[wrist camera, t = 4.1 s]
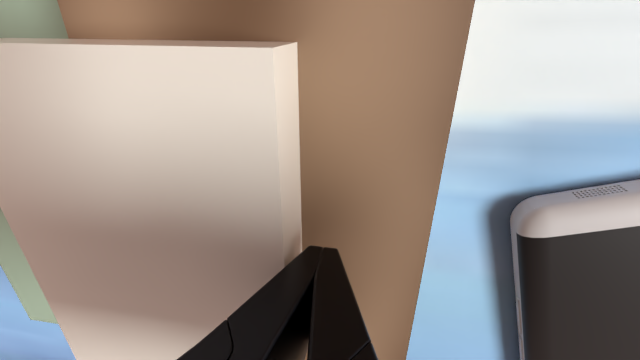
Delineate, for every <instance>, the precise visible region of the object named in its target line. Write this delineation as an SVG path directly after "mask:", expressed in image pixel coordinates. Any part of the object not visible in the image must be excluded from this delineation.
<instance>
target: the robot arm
mask: <svg viewBox="0 0 640 360" xmlns="http://www.w3.org/2000/svg"><path fill="white" fill-rule="evenodd" d="M307 350H308V353H307ZM306 354H307V360H378V358H377V355H376V352H375V349H374V347H373V344H372V343H371V339H370V336H369V333H368V331H367V328H366V325H365V322H364V320H363V317H362V314H361V311H360V309H359V306H358V303H357V300H356V298H355V295H354V292H353V289H352V287H351V284H350V281H349V278H348V276H347V273H346V270H345V267H344V265H343V262H342V259H341V256H340V254H339V251H338V249H337V248H330V247H324V248H323V247H321V246H313V245H310V246H308V247H307V248H306V249H305V250H303V251H302V252H301V253H300V254H299V255H298V256H297V257H295V258H294V259H293V260H292V261H291V262H290V263H289V264H288V265H286V266H285V267H284V268H283V269H282V270H281V271H280V272H279V273H277V274H276V275H275V276H274V277H273V278H272V279H271V280H270V281H268V282H267V283H266V284H265V285H264V286H263V287H262V288H260V289H259V290H258V291H257V292H256V293H255V294H254V295H253V296H251V297H250V298H249V299H248V300H247V301H246V302H245V303H244V304H242V305H241V306H240V307H239V308H238V309H237V310H236V311H234V312H233V313H232V314H231V315H230V316H229V317H228V318H227V320H224V321H223V322H222V323H221V324H220V325H218V326H217V327H216V328H215V329H214V330H213V331H212V332H210V333H209V334H208V335H207V336H206V337H204V338H203V339H202V340H201V341H200V342H198V343H197V344H196V345H195V346H194V347H192V348H191V349H190V350H188V351H187V352H186V353H184V354H183V355H182V356H180V357H179V358H178V359H176V360H305V357H306Z"/></svg>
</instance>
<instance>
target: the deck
mask: <svg viewBox="0 0 640 360" xmlns="http://www.w3.org/2000/svg"><path fill="white" fill-rule="evenodd" d="M57 2H58V5H59V8H60V12H61V15H62V18H63V21H64V25H65V28H66V31H67V34H68V38H69V39H125V40H193V41H260V42H297V55H298V97H299V139H300V181H301V223H302V251H303V250H305V249H306V248H307V247H308V246H310V245H313V246H321V247H323V248H324V247H330V248H337V249H338V251H339V254H340V256H341V259H342V262H343V265H344V267H345V270H346V273H347V276H348V278H349V281H350V284H351V287H352V289H353V292H354V295H355V298H356V300H357V303H358V306H359V309H360V311H361V314H362V317H363V320H364V322H365V325H366V328H367V331H368V333H369V336H370V339H371V343H372V344H373V347H374V349H375V352H376V355H377V358H378V360H406V355H407V350H408V345H409V340H410V335H411V330H412V324H413V319H414V314H415V309H416V304H417V298H418V293H419V288H420V283H421V278H422V272H423V267H424V262H425V257H426V252H427V246H428V241H429V236H430V231H431V226H432V220H433V215H434V210H435V205H436V200H437V195H438V189H439V184H440V179H441V174H442V169H443V163H444V158H445V153H446V148H447V143H448V137H449V132H450V127H451V122H452V117H453V111H454V106H455V101H456V96H457V91H458V85H459V80H460V75H461V70H462V65H463V60H464V54H465V49H466V44H467V39H468V34H469V28H470V23H471V18H472V13H473V8H474V2H475V0H57ZM307 353H308V350H307ZM305 360H307V354H306V357H305Z"/></svg>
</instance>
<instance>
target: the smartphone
mask: <svg viewBox="0 0 640 360" xmlns="http://www.w3.org/2000/svg"><path fill="white" fill-rule="evenodd" d="M510 228H511V241H512V255H513V268H514V282H515V295H516V310H517V324H518V335H519V351H520V360H640V179H637V180H631V181H625V182H619V183H612V184H606V185H600V186H594V187H587V188H581V189H575V190H569V191H562V192H556V193H550V194H543V195H537V196H533V197H529V198H527V199H525V200H523V201H522V202H520V203H519V204H518V205H517V206H516V207H515V208H514V210H513V211H512V214H511V217H510Z"/></svg>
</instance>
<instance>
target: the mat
mask: <svg viewBox="0 0 640 360" xmlns="http://www.w3.org/2000/svg"><path fill="white" fill-rule="evenodd" d="M0 38H58V39H69V38H68V34H67V31H66V28H65V25H64V21H63V18H62V15H61V12H60V8H59V5H58V2H57V0H0ZM0 265H1V267H2V269H3V270H4V272H5V274H6V276H7V278H8V280H9V281H10V283H11V285H12V287H13V289H14V290H15V292H16V294H17V296H18V298H19V300H20V301H21V303H22V305H23V307H24V309H25V311H26V312H27V314H28V316H29V318H30V319H31V320H37V321H43V322H50V323H56V324H58V322H57V320H56V318H55V316H54V314H53V312H52V310H51V308H50V306H49V304H48V302H47V300H46V298H45V296H44V294H43V292H42V290H41V288H40V286H39V284H38V282H37V280H36V278H35V276H34V274H33V272H32V270H31V268H30V266H29V264H28V262H27V260H26V258H25V256H24V254H23V252H22V250H21V248H20V246H19V244H18V242H17V240H16V238H15V236H14V234H13V232H12V230H11V228H10V226H9V224H8V222H7V220H6V218H5V216H4V214H3V212H2V210H1V208H0Z"/></svg>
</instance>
